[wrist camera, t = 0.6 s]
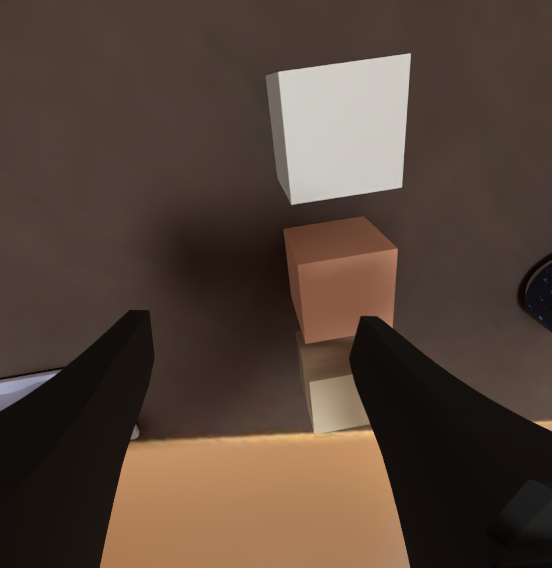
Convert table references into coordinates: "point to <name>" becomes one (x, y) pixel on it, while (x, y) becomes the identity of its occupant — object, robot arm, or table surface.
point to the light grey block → (339, 127)
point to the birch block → (330, 384)
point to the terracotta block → (340, 276)
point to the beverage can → (540, 296)
